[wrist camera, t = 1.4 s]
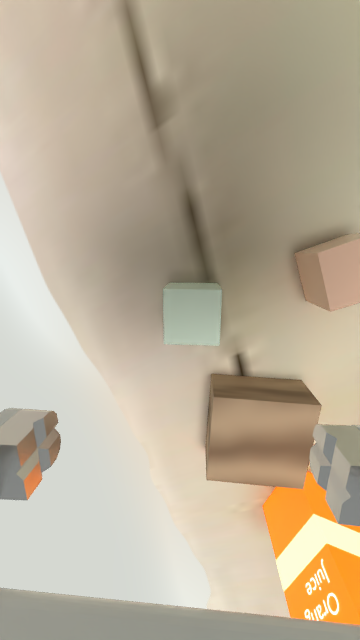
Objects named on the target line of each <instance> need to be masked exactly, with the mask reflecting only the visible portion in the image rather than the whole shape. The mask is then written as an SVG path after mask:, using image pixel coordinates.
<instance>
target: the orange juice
mask: <svg viewBox="0 0 360 640" xmlns="http://www.w3.org/2000/svg"><path fill="white" fill-rule="evenodd" d="M325 496H326V491H325V490H324V489H323V488H321V487H320V486H319V485H318V484H317V483H316V481H315V479H314V477H313V474H312V473H310V472H307V474H306V479H305V483H304V488H303V489H294V488H283V487H276V488H275V489H274V491H273V492H272V494H271V495H270V496H269V498H268V499H267V501H266V502H265V503H264V505H263V510H264V514H265V518H266V522H267V526H268V529H269V533H270V537H271V541H272V545H273V549H274V553H275V557H276V563H277V567H278V571H279V575H280V579H281V583H282V587H283V591H284V593H285V597H286V601H287V605H288V609H289V613H290V616H291V618H298V619H308V620H318V621H327V622H337V623H347V624H357V625H360V526H351V525H342V524H338V523H337V521H336V519H335V517H334V515H333V513H332V511H331V510H330V508H329V506H328V504H327V502H326V500H325Z"/></svg>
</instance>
